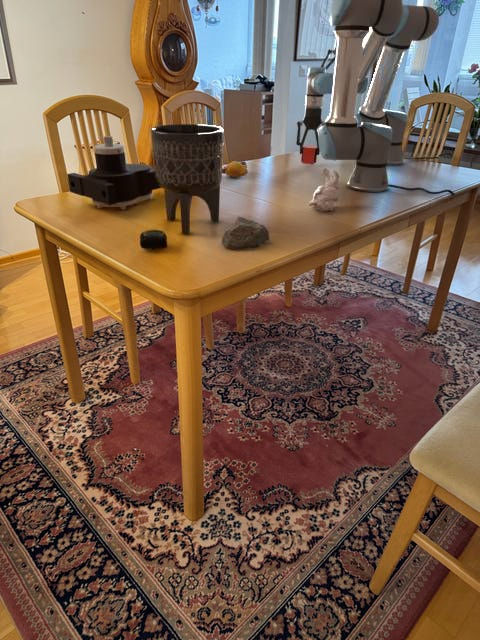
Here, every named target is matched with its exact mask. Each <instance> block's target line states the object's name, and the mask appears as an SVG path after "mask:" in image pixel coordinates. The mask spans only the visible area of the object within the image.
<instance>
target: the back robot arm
mask: <svg viewBox="0 0 480 640" xmlns="http://www.w3.org/2000/svg"><path fill="white" fill-rule="evenodd" d="M439 22H440V18H439V14H438V11H436V9H435V8H433V7H431V6H427V5H411V4H403V13H402V19H401V22H400V24H399V26H398V28H397V30H396V32H395V33H394V34H393V35H392V36H390V37H389V38H388V40H387V42H386V43H385V45H384V47H383V49H382V50H381V52H380V56H379V60H378V62H377V65H376V68H375V72H374V74H373V78H372V81H371V84H370V87H369V90H368V92H367V95H366V96H367V97H366V99H365V102H364V104H362V105H360V107H359V109H358V112H355V114H354V117H355V119H356V120H357V121H358V124H357V127H361V123H362V122H369V123H375V124H380V125H385V126H388V127H390V128H391V129H392V141H391V146H390V151H389V156H388V162H387V166H400V165H402V164H403V163H404V160H410V161H411V160H433V159H438V158H439V157H441V156H445V155H449V156H450V157H453V154H452V153H451V152H444V153H440V154H436V156H426V157H425V156H424V157H407V156H404V154H403V153H404V152H403V143H404V138H405V132H406V127H407V124H408V123H407V122H408V114H407V113H406V112H402V111H397V110H390V109H384V108H385V105H386V103H387V100H388V97H389V95H390V92H391V89H392V86H393V84H394V80H395V79H396V76H397V72H398V70H399V67H400V65H401V62H402V59H403V56H404V53H405V52H406V51H408V50H410V48H411V45H412V42H422V41H425V40H427V39H429V38H431V37H432V36H433V35H434V34H435V32H436V31H437V29H438V27H439ZM335 37H336V39H335V43H334V49H328V50H327V53H326V56H325V58H324V60H323V61H322V63H321V65H320V67H325V68H326V73H328V72H327V70H329V68H330V67H331V66H332V65H333V63H334V62H336V55H337V45H338V37H337V36H336V35H335ZM332 54H333V55H334V56H333V58H332V59H331V60H330V61H329V62H328V60H329V58H330V56H331V55H332ZM327 62H328V64H326V63H327Z"/></svg>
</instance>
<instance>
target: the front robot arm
mask: <svg viewBox="0 0 480 640" xmlns="http://www.w3.org/2000/svg"><path fill="white" fill-rule="evenodd" d="M403 5H404V4H403V0H332V2H331V6H330V12H329V23H330V25H331V26H333V27H334V30H333V32H334V34H335V37H336V36H337V37H338V45H337V55H336V60H335V64H334V65H335V66H334V73H333V72H327V70H326V68H325V67H326V66H324V67H321V66H310V67H309V68H308V72H307V77H306V78H307V80H306V93H305V94H306V95H305V104H304V105H305V108H304V116H303V120H298V121H297V122H296V124H297V125H296V126H297V132H296V142H295V143H296V146H299V155H301V157H300V158H301V159H300V162H301V163H302V160H303V148H304V146H305V145H304V144H305V142H306V139H307V136H308V133H309V131H311V130H312V131H314V137H315V141H316V146H317V147H316V149H315V159H314V164H316V163H317V159H318V156H319V155H321V158H323V159H324V160H326V161H355V164H354V165H355V166H354V167H353V171H351V172H350V176H349V179H348V182H347V187H348V188H349V189H351V190H354V191H358V192H363V193H364V192H365V193H382V192H386V191H388V189H389V188H394V189H399V190H404V191H423V192H425V193H427V194H430V195H441V194H443V193H449V194H451V195H453V196H454V195H456V194H455V193H454V191H452V190H451V189H443V190H439V191H431V190H428V189H426V188H424V187H412V188H411V187H404V186H400V185H395V184H389V178H388V173H387V172H388V171H387V166H388V165H387V162H388V156H389V151H390V146H391V141H392V129H391V128H390V127H388V126H385V125H380V124H375V123H369V122H362V123H361V127H357V124H358V121H357V120H356V119H355V117H354V114H355V113H356V106H357V105H356V104H357V98H358V95H363V94H364V93H366V92H367V90H368V87H369V76H368V75H369V73H370V71H371V70H372V68H373V66H374V64H375V63H376V61H377V59H378V57H380V56H379V55H381V53H382V50H383V47H384V45H385V43H386V42H387V40H388V38H389V37H390V36H392V35H393V34H394V33H395V32H396V30H397V28H398V26H399V24H400V22H401V19H402V13H403ZM337 37H336V38H337ZM326 72H327V73H326ZM325 95H331V102H330V113H329V116H327V118H326V119H325V121H323V119H322V116H323V115H322V114H323V108H322V107H323V105H324V96H325ZM303 125H304V127H305V129H304V133H303V136H302V139H301V135H302V126H303ZM320 126H321V127H320Z"/></svg>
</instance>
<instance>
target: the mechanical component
mask: <svg viewBox="0 0 480 640" xmlns="http://www.w3.org/2000/svg"><path fill="white" fill-rule="evenodd" d="M103 142H104V143H101V144H97V145H94V147H93V150H94V159H95V166H96V168H93V169H90V170H88V174H80V173H76V172H70V173H67V181H68V187H69V192H70V193H72V194H75V195H77V196H81V197H86V198H89V199H91V200H92V204H94V205H95V206H96V207H97V208H98V209H102V208H103V207H105V208H120V210H126V208H127V207H128V206H132V205H140V201H147V200H148V201H152V200H153V197H154V196H153V195H154V192H153V191H154V190H158V189H162V188H161V187H160V186H159V185H158V184H157V181H156V175H155V167H151V165H148V164H142V163H127V159H126V148H125V145H124V144H121V143H114V139H113V135H112V136H111V135H110V136H109V135H108V136H107V135H104V136H103Z"/></svg>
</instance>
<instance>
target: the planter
mask: <svg viewBox="0 0 480 640" xmlns="http://www.w3.org/2000/svg"><path fill="white" fill-rule="evenodd" d="M149 131H150V140H151V150H152V158H153V166H154V167H153V168H154V169H155V175H156V181H157V184H158V185H159V186H160V187H161V188H160V189H163V190H164V201H165V202H164V203H165V212H166V220H167V221H171V222H172V221H174V220H176V217H177V216H176V215H177V207H178V204H179V205H180V206H179V208H180V224H181V225H180V226H181V235H189V234H190V233H191V206H192V200H193V197H198V198H200V199H201V200H202V201H204V203H205V204H206V206H207V208H208V211H209V216H210V222H212V223H219V220H220V196H221V184H222V181H223V173H222V169H223V162H224V161H223V159H224V140H225V139H224V138H225V137H224V136H225V130H224V129H223V128H222V127H221V126H216V125H211V124H210V125H208V124H198V123H197V124H195V123H172V124H163V125H156V126H152V127H151V128H150V130H149Z"/></svg>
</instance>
